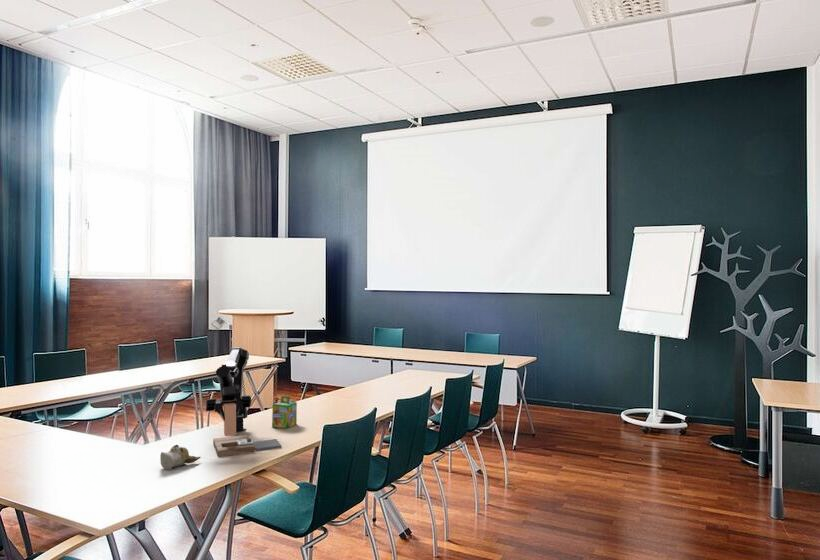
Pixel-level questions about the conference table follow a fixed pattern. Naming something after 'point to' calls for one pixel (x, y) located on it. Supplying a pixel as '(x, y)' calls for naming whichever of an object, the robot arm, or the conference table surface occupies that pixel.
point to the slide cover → (244, 442)
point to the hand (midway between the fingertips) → (230, 419)
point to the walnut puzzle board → (231, 446)
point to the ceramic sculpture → (176, 457)
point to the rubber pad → (266, 444)
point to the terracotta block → (230, 419)
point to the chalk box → (284, 413)
